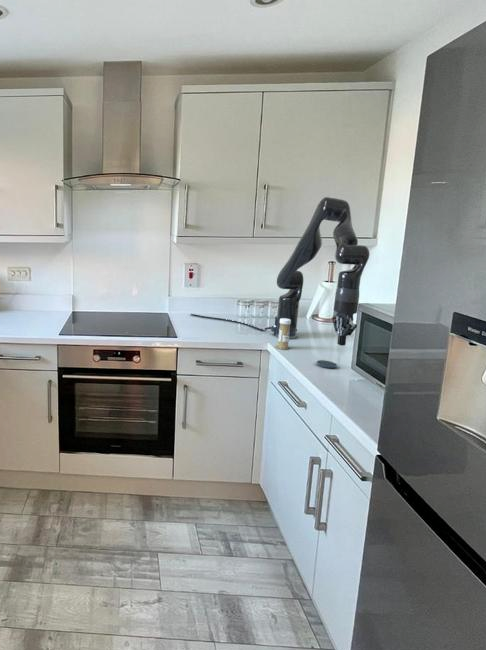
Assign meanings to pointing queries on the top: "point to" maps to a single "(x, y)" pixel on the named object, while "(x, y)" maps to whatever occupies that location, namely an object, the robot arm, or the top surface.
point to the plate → (326, 364)
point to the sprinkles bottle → (284, 333)
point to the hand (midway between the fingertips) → (341, 344)
